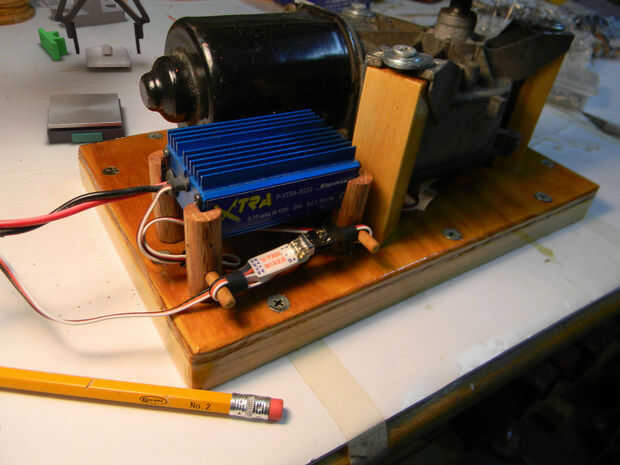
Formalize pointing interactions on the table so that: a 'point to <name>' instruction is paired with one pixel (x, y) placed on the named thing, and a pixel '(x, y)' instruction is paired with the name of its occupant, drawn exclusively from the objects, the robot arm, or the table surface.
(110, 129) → the kitchen scale
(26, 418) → the table surface
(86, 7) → the bracket
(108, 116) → the scale pan
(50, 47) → the pipe clamp
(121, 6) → the robot arm
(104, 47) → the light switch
